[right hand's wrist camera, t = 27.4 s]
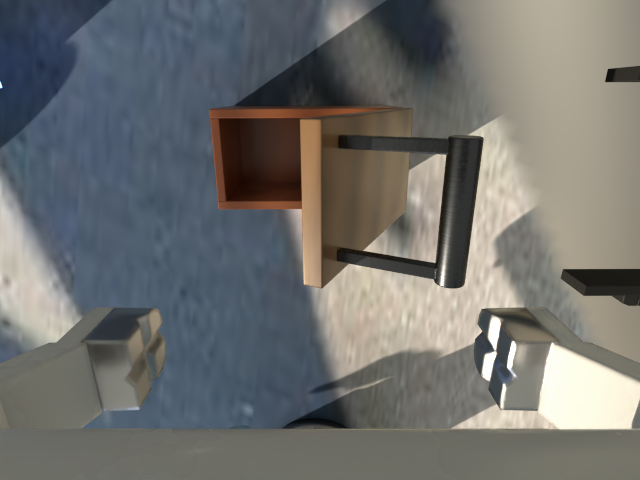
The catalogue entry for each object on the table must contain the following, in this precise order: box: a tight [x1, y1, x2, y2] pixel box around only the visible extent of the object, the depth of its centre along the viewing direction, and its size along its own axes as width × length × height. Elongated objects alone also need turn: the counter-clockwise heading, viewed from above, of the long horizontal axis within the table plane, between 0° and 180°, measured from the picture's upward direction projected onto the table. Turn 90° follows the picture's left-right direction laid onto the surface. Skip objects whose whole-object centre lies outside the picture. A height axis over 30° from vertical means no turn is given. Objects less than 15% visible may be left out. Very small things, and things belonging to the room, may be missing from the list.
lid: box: [300, 108, 484, 288], centre depth 27 cm, size 18×9×9 cm
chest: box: [209, 105, 402, 209], centre depth 42 cm, size 18×9×10 cm, turn 90°
